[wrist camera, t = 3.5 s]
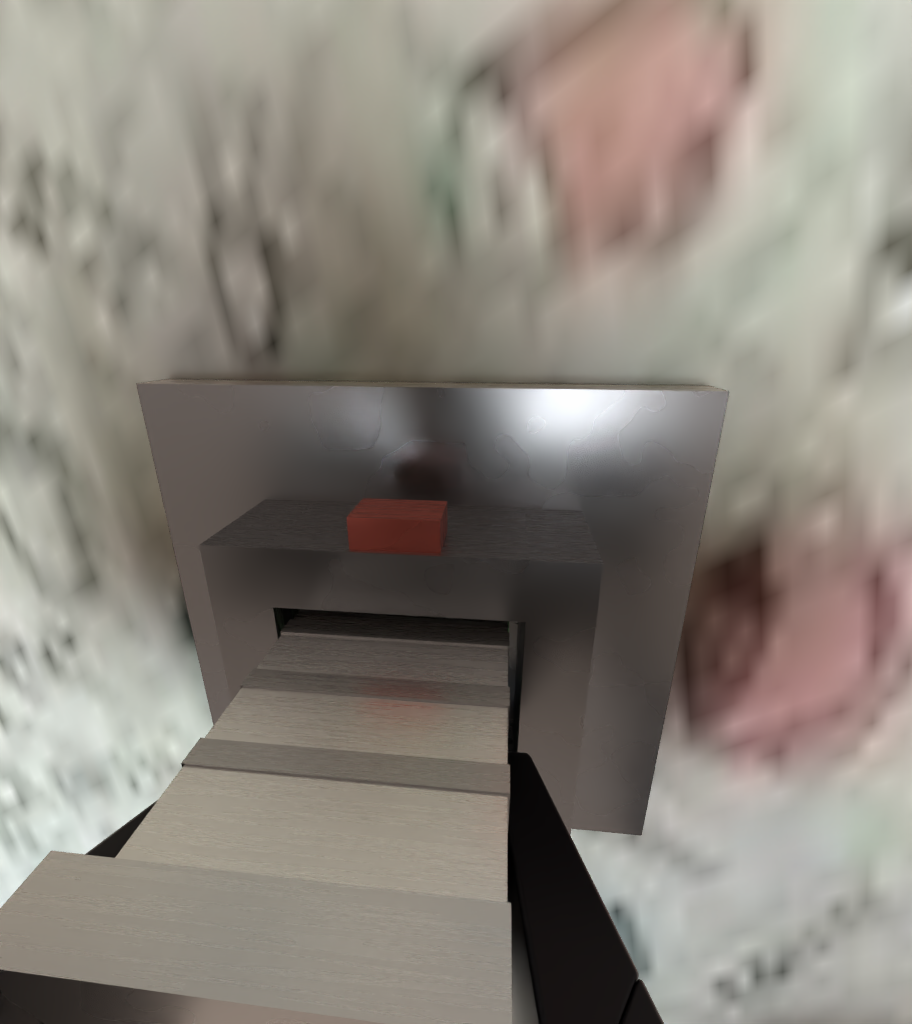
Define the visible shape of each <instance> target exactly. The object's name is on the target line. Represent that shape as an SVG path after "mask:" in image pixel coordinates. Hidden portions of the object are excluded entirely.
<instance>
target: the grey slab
mask: <svg viewBox="0 0 912 1024" xmlns="http://www.w3.org/2000/svg"><path fill="white" fill-rule="evenodd" d="M509 646H510V644H509V621H496V620H479V619H462V618H445V617H427V616H410V615H393V614H376V613H359V612H342V611H325V610H308V609H300V611H299V612H298V613H297V615H296V616H295V617H294V619H290V620H289V621H288V623H287V624H286V625H285V627H284V628H283V629H282V631H281V636H280V637H279V639H278V640H277V641H276V643H275V644H274V645H273V647H272V648H271V649H270V651H269V652H268V653H267V655H266V656H265V657H264V659H263V660H262V662H261V663H260V664H259V666H258V667H257V668H256V669H254V668H253V669H252V670H251V672H250V673H249V674H248V676H247V677H246V678H245V680H244V681H243V682H242V684H241V685H240V689H241V690H240V691H239V692H238V694H237V695H236V696H235V698H234V699H233V700H232V702H231V703H230V704H229V706H228V707H227V708H226V710H225V711H224V712H223V714H222V715H221V716H220V718H219V719H218V720H217V722H216V723H215V725H214V726H213V727H212V729H211V730H210V731H209V733H208V734H207V735H206V737H205V738H200V739H199V741H198V742H197V743H196V745H195V746H194V747H193V748H192V750H191V751H190V752H189V754H188V755H187V756H186V758H185V759H184V760H183V762H182V763H181V764H182V769H181V770H180V771H179V773H178V774H177V775H176V777H175V778H174V779H173V781H172V782H171V783H170V785H169V786H168V788H167V789H166V790H165V792H164V793H163V794H162V796H161V797H160V798H159V800H158V801H157V802H156V804H155V805H154V806H153V808H152V809H151V810H150V812H149V813H148V814H147V816H146V817H145V818H144V820H143V821H142V822H141V824H140V825H139V826H138V828H137V829H136V830H135V832H134V833H133V834H132V836H131V837H130V838H129V840H128V841H127V842H126V844H125V845H124V847H123V848H122V849H121V851H120V852H119V853H118V855H117V856H116V857H115V858H111V857H102V856H93V855H84V854H75V853H66V852H58V851H50V853H49V854H48V855H47V856H46V857H45V858H44V859H43V861H42V862H41V863H40V864H39V865H38V866H37V867H36V868H35V870H34V871H33V872H32V873H31V874H30V875H29V876H28V878H27V879H26V880H25V881H24V882H23V883H22V884H21V886H20V887H19V888H18V889H17V890H16V891H15V892H14V893H13V895H12V896H11V897H10V898H9V899H8V900H7V901H6V903H5V904H4V905H3V906H2V907H1V908H0V1024H512V967H511V903H508V902H507V840H508V822H509V805H510V765H509V764H507V759H508V730H509V711H510V687H508V667H509Z"/></svg>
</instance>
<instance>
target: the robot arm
mask: <svg viewBox="0 0 912 1024" xmlns="http://www.w3.org/2000/svg"><path fill="white" fill-rule="evenodd" d="M507 764H509V765H510V805H509V822H508V840H507V902H508V903H511V967H512V1024H664V1022H663V1020H662V1018H661V1017H660V1015H659V1013H658V1011H657V1009H656V1007H655V1005H654V1003H653V1001H652V999H651V997H650V994H649V992H648V990H647V988H646V986H645V984H644V982H643V981H642V980H640V979H638V976H639V974H638V971H637V969H636V967H635V965H634V963H633V961H632V959H631V957H630V955H629V953H628V951H627V949H626V947H625V945H624V943H623V941H622V939H621V937H620V935H619V933H618V931H617V929H616V927H615V925H614V923H613V921H612V919H611V917H610V915H609V913H608V911H607V909H606V907H605V905H604V903H603V901H602V899H601V897H600V895H599V893H598V891H597V889H596V887H595V885H594V883H593V880H592V878H591V876H590V874H589V872H588V870H587V868H586V866H585V864H584V862H583V860H582V858H581V856H580V854H579V852H578V850H577V848H576V846H575V844H574V842H573V840H572V838H571V836H570V834H569V832H568V830H567V828H566V826H565V824H564V822H563V820H562V818H561V816H560V814H559V812H558V810H557V808H556V806H555V804H554V802H553V800H552V798H551V796H550V794H549V792H548V790H547V788H546V786H545V784H544V782H543V780H542V778H541V776H540V774H539V772H538V770H537V768H536V766H535V764H534V762H533V760H532V758H531V756H530V755H529V754H528V753H523V752H511V751H509V752H508V759H507ZM158 800H159V799H158ZM158 800H157V801H158ZM157 801H156V802H157ZM156 802H154V803H153V804H152V805H150V806H149V807H148V808H146V809H145V810H144V811H142V812H141V813H140V814H138V815H137V816H136V817H134V818H133V819H132V820H130V821H129V822H128V823H126V824H125V825H124V826H122V827H121V828H120V829H118V830H117V831H116V832H114V833H113V834H112V835H110V836H109V837H108V838H106V839H105V840H104V841H102V842H101V843H100V844H98V845H97V846H96V847H94V848H93V849H92V850H90V851H89V852H88V853H86V854H85V855H93V856H102V857H111V858H115V857H116V856H117V855H118V853H119V852H120V851H121V849H122V848H123V847H124V845H125V844H126V842H127V841H128V840H129V838H130V837H131V836H132V834H133V833H134V832H135V830H136V829H137V828H138V826H139V825H140V824H141V822H142V821H143V820H144V818H145V817H146V816H147V814H148V813H149V812H150V810H151V809H152V808H153V806H154V805H155V804H156Z"/></svg>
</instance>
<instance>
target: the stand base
mask: <svg viewBox="0 0 912 1024" xmlns="http://www.w3.org/2000/svg"><path fill="white" fill-rule="evenodd" d="M136 384H137V389H138V393H139V398H140V402H141V407H142V411H143V415H144V420H145V424H146V429H147V433H148V438H149V442H150V446H151V451H152V455H153V460H154V464H155V468H156V473H157V477H158V482H159V486H160V491H161V495H162V499H163V504H164V508H165V513H166V517H167V521H168V526H169V530H170V535H171V539H172V544H173V548H174V552H175V557H176V561H177V566H178V570H179V575H180V579H181V583H182V588H183V592H184V597H185V601H186V605H187V610H188V614H189V619H190V623H191V628H192V632H193V636H194V641H195V645H196V650H197V654H198V658H199V663H200V667H201V672H202V676H203V681H204V685H205V689H206V694H207V698H208V703H209V707H210V712H211V716H212V720H213V725H215V723H216V722H217V720H218V719H219V718H220V716H221V715H222V714H223V712H224V711H225V710H226V708H227V707H228V706H229V704H230V703H231V702H232V700H233V699H234V698H235V696H236V695H237V694H238V692H239V691H240V690H241V689H240V685H241V684H242V682H243V681H244V680H245V678H246V677H247V676H248V674H249V673H250V672H251V670H252V669H253V668H254V669H256V668H257V667H258V666H259V664H260V663H261V662H262V660H263V659H264V657H265V656H266V655H267V653H268V652H269V651H270V649H271V648H272V647H273V645H274V644H275V643H276V641H277V640H278V639H279V637H280V636H281V631H282V629H283V628H284V627H285V625H286V624H287V623H288V621H289V620H290V619H294V617H295V616H296V615H297V613H298V612H299V611H300V609H308V610H325V611H342V612H359V613H376V614H393V615H410V616H427V617H445V618H462V619H479V620H496V621H509V644H510V646H509V667H508V687H510V711H509V730H508V752H509V751H511V752H523V753H528V754H529V755H530V756H531V758H532V760H533V762H534V764H535V766H536V768H537V770H538V772H539V774H540V776H541V778H542V780H543V782H544V784H545V786H546V788H547V790H548V792H549V794H550V796H551V798H552V800H553V802H554V804H555V806H556V808H557V810H558V812H559V814H560V816H561V818H562V820H563V822H564V824H565V826H566V828H567V830H568V832H569V834H570V833H571V829H582V830H592V831H602V832H612V833H623V834H633V835H642V830H643V825H644V820H645V815H646V810H647V805H648V800H649V795H650V790H651V784H652V779H653V774H654V769H655V764H656V759H657V754H658V749H659V744H660V739H661V734H662V729H663V724H664V719H665V714H666V709H667V704H668V699H669V694H670V689H671V684H672V678H673V673H674V668H675V663H676V658H677V653H678V648H679V643H680V638H681V633H682V628H683V623H684V618H685V613H686V608H687V603H688V598H689V593H690V588H691V583H692V577H693V572H694V567H695V562H696V557H697V552H698V547H699V542H700V537H701V532H702V527H703V522H704V517H705V512H706V507H707V502H708V497H709V492H710V487H711V482H712V477H713V471H714V466H715V461H716V456H717V451H718V446H719V441H720V436H721V431H722V426H723V421H724V416H725V411H726V406H727V401H728V396H729V391H726V390H722V389H719V388H715V387H711V386H688V385H607V384H526V383H444V382H363V381H281V380H200V379H165V380H158V381H150V382H143V383H136Z"/></svg>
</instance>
